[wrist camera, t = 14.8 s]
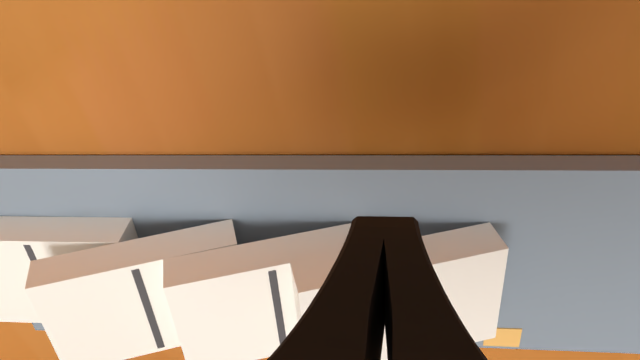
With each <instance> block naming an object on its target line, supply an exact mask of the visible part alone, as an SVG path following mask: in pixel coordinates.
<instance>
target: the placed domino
mask: <svg viewBox="0 0 640 360" xmlns="http://www.w3.org/2000/svg"><path fill="white" fill-rule="evenodd" d="M422 240H423V243H424V245H425V248H426V251H427V253H428V256H429V259H430V261H431V263H432V266H433V268H434V270H435V272H436V274H437V276H438V278H439V281H440V283H441V285H442V287H443V289H444V291H445V293H446V295H447V296H448V298H449V300H450V302H451V304H452V306H453V307H454V309H455V311H456V313H457V314H458V316H459V318H460V319H461V321H462V323H463V324H464V326H465V328H466V329H467V331H468V332H469V334H470V335H471V337H472V338H473V340H474V341H475V342H479V341H483V340H487V339H492V338H495V337H496V330H497V324H498V317H499V310H500V304H501V297H502V290H503V284H504V277H505V270H506V264H507V257H508V250H509V248H508V247H507V245H506V244H505V243H504V241H503V240H502V238H501V237H500V236H499V234H498V233H497V232H496V230H495V229H494V227H493V226H492V225H491V223H490V222H488V223H483V224H478V225H474V226H469V227H464V228H459V229H454V230H449V231H444V232H439V233H434V234H430V235H425V236H422ZM338 255H339V253H337V254H332V255H327V256H322V257H317V258H312V259H307V260H302V261H298V262H293V263H290V267H291V274H292V282H293V290H294V297H295V305H296V313H297V320H298V321H299V320H300V318H301V317H302V315H303V314H304V313H305V311H306V310H307V308H308V307H309V305H310V303H311V302H312V300H313V299H314V297H315V296H316V294H317V292H318V291H319V289H320V288H321V286H322V285H323V283H324V281H325V279H326V278H327V276H328V274H329V272H330V270H331V268H332V266H333V265H334V263H335V261H336V259H337V257H338ZM381 360H388V358H387V345H386V333H385V329H384V337H383V345H382V353H381Z"/></svg>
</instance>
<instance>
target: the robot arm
mask: <svg viewBox="0 0 640 360" xmlns="http://www.w3.org/2000/svg"><path fill="white" fill-rule="evenodd" d="M384 329H385V333H386V345H387V358H388V360H487V358H486V357H485V356H484V354H483V353H482V351H481V350H480V348H479V347H478V346H477V344H476V343H475V341H474V340H473V338H472V337H471V335H470V334H469V332H468V331H467V329H466V328H465V326H464V324H463V323H462V321H461V319H460V318H459V316H458V314H457V313H456V311H455V309H454V307H453V306H452V304H451V302H450V300H449V298H448V296H447V295H446V293H445V291H444V289H443V287H442V285H441V283H440V281H439V278H438V276H437V274H436V272H435V270H434V268H433V266H432V263H431V261H430V259H429V256H428V253H427V251H426V248H425V245H424V243H423V240H422V236H421V233H420V229H419V223H418V221H417V220H416V219H415V218H414V217H387V216H357V217H356V218H354V219H353V220H352V223H351V227H350V229H349V232H348V235H347V237H346V240H345V242H344V244H343V247H342V249H341V251H340V253H339V255H338V257H337V259H336V261H335V263H334V265H333V266H332V268H331V270H330V272H329V274H328V276H327V278H326V279H325V281H324V283H323V285H322V286H321V288H320V289H319V291H318V292H317V294H316V296H315V297H314V299H313V300H312V302H311V303H310V305H309V307H308V308H307V310H306V311H305V313H304V314H303V315H302V317H301V318H300V320H299V321H298V322H297V324H296V325H295V326H294V328H293V329H292V330H291V332H290V333H289V334H288V335H287V337H286V338H285V339H284V341H283V342H282V343H281V344H280V345H279V347H278V348H277V349H276V350H275V351H274V352H273V354H272V355H271V356H270V357H269V358H268V359H267V360H381V353H382V345H383V337H384Z"/></svg>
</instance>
